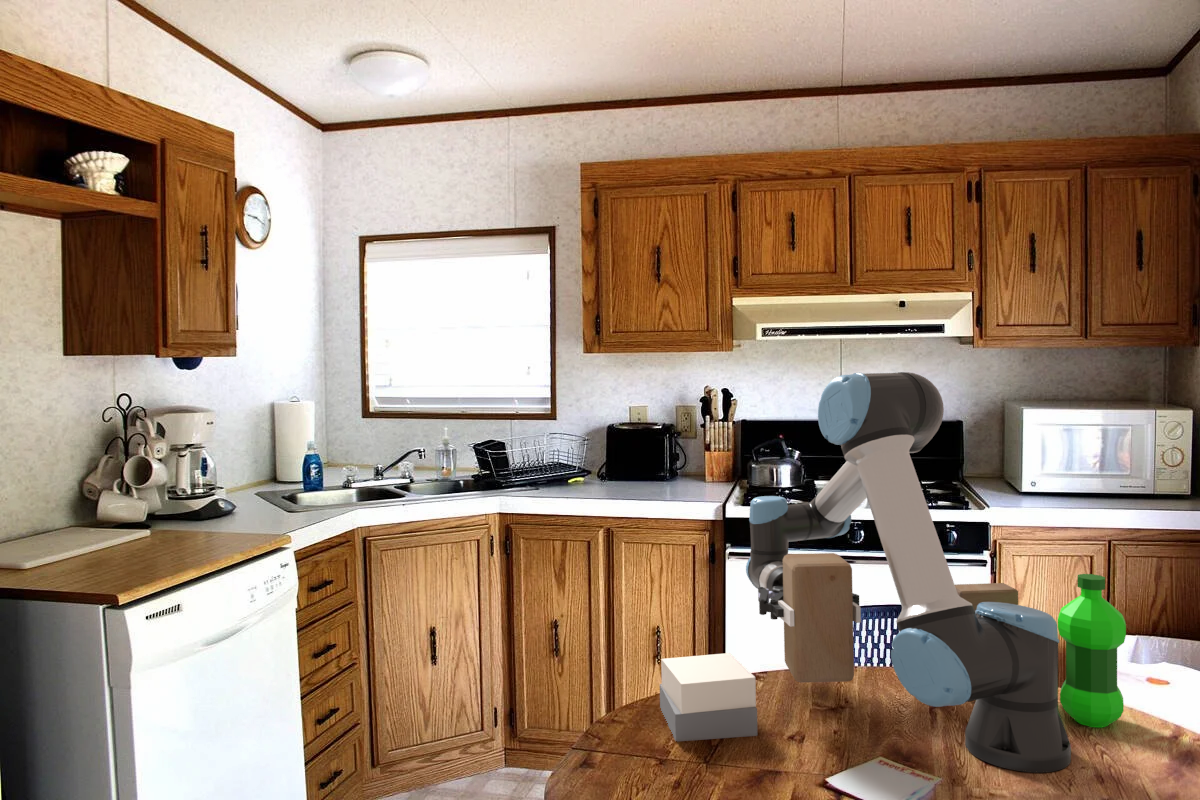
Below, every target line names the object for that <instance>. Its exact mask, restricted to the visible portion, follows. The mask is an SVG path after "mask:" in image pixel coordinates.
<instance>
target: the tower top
mask: <svg viewBox="0 0 1200 800" xmlns="http://www.w3.org/2000/svg"><path fill="white" fill-rule="evenodd" d="M660 660H661V661H660V663H661V667H660V668H661V684H662V687H663V688H664V690H665V691H666V693H667V694H668V695H669V697H670V698H671V700H672V701H673V702H674V704H675V705H676V707H677V708H678V709H679V711H680V712H681V714H686V713H696V712H706V711H716V710H726V709H737V708H747V707H756V708H757V700H756V699H757V695H756V694H757V693H756V689H757V688H756V685H757V684H756V682H757V681H756V676H755V675H754V674H753V673H751V672H750V671H749V669H747V668H746V667H745V666H744V665H743V664H742V663H741V662H740V661H739V660H738V659H737V658H735V656H734V655H732V653H730V652H726V653H714V654H703V655H692V656H691V655H690V656H680V657H667V658H661V659H660Z"/></svg>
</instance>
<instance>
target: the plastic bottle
mask: <svg viewBox="0 0 1200 800" xmlns="http://www.w3.org/2000/svg"><path fill="white" fill-rule="evenodd" d="M1077 588H1080V595H1079V596H1077V597H1075V598H1074V599H1072V600H1070V601H1069V602H1068V603H1067V604H1065V605H1064V606H1062V607H1061V608H1060V611H1059V613H1058V617H1057V631H1058V635H1059V636H1060V637H1061V638H1062V639H1063V640H1064V642H1065V680H1064V682H1063V683H1062V685H1061V688H1060V691H1059V692H1060V693H1059V701H1060V704H1061V706H1062V708H1063V710H1064V711H1065V713H1066V714H1068V715H1069V716H1070V717H1072V718H1073V719H1074V721H1075V722H1077V723H1078V724H1080V725H1083V726H1087V727H1090V728H1098V729H1099V728H1105V727H1108V726H1109V725H1111V724H1112V723H1115V722H1116V721H1118V720H1119V719H1120V718H1121V717H1122V715H1123V713H1124V709H1125V708H1124V706H1125V705H1124V697H1123V694H1122V692H1121V690H1120V688H1119V686H1118V648H1120V647H1121V646H1122V645H1123V644H1124V643H1125V640H1126V635H1127V631H1126V630H1127V624H1126V620H1125V617H1124V615H1123V614H1122V612H1120V611H1119V610H1118V609H1117V608H1116V607H1115V606H1114V605H1112V604H1111V603H1110V602H1108V600H1106V599H1105V597H1102V596H1103V594H1102V592H1103V591H1105V590H1106V577H1105V576H1104V575H1103V576H1102V575H1099V574H1092V573H1081V574H1077Z"/></svg>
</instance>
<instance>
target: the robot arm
mask: <svg viewBox="0 0 1200 800" xmlns="http://www.w3.org/2000/svg"><path fill="white" fill-rule="evenodd" d="M817 407H818V408H817V418H818V420H817V421H818V426H819V430H820V432H821V434H822V436H823V437H824V439H826V440H827V441H828V443H831V444H834V445H835V446H836V445H837V446H838V445H839V446H841V447H840V448H841V451H842V455H843V457H844V460H845V463H844V464H842V466H841V467H840V468H839V469H838V470H837V472H836V473H835V474H834V475H833V476H832V477H831V478H830V480H829V481H828V482H827V483H826V484H825V486H823V488H822V489H820V491H819V492H818V493H817V495H816V496H815V497H814V498H813V499H812V500H811V501H810V502H805V503H795V504H793V503H791V504H788V500H787V499H786V498H785V497H783V496H777V495H764V496H762V495H761V496H757V497H754V498H753V499H752V500H751V501H750V507H749V519H748V521H749V528H750V529H749V531H750V557H749V558H748V560H747V562H746V565H745V572H746V575H747V578H748V580H749V581H750V583H751V585H753V586H754V587H755V588H756V589H757V594H758V605H759V606H758V607H759V615H761V616H765V615H767V613H770V619H771V620H778V618H780V620H782V621H783V623H784V622H786V623H787V624H788V625H789V626H790V627H792V626H794V610H793V609H792V608H791V607H790V606H788V605H787V604H786V603H785V602H784V601H783V558H784V556H785V555H787V554H789V542H790V543H791V542H798V541H799V542H800V541H807V540H808V541H809V540H818V539H832V538H835V537H838V536H839V537H840V536H842V535H845V534H846V533H847V532H848V531H849V530H850V525H851V524H852V514H853V513H854V512H855V511H856V510H857V508H858V507H860V506H861V505H862V503H863V502H864V501H865V500H866V499H867V502H868V505H869V508H870V511H871V514H872V516H873V517H872V518H873V520H874V524H875V527H876V531H877V533H878V537H879V539H880V543H881V546H882V548H883V552H884V555H885V558H886V561H887V563H888V567H889V571H890V573H891V576H892V577H891V578H892V580H893V582H894V586H895V589H896V592H897V595H898V598H899V601H900V605H901V612H900V613H899V615H898V617H897V618H896V621H895V622H896V625H897V628H898V633H897V634H896V635H895V636H894V638H893V639H892V643H891V647H892V649H891V650H890V659H891V664H892V667H893V670H894V672H895V675H896V676H897V678H898V680H899V682H900V684H901V685H902V687H903V688H904V689H905V690H906V691H907V692H908V694H910V695H911V696H913V697H914V698H915V699H916V700H918V701H919V702H920V703H922V704H924V705H926V706H929V707H934V708H935V707H937V708H938V707H947V706H961V705H963V704H966V703H968V702H973V701H975V702H974V705H973V708H972V710H971V713H970V717H969V720H968V722H967V725H966V727H965V732H964V733H965V734H964V736H965V737H964V738H965V742H964V743H965V748H966V749H967V750H968V752H970V753H971V754H972V755H973V756H974V757H976V758H977V759H980V760H981V761H983V762H986V763H988V764H991V765H993V766H996V767H999V768H1002V769H1008V770H1010V771H1011V770H1012V771H1016V772H1017V771H1018V772H1024V773H1025V772H1026V773H1051V772H1057V771H1061V770H1062V769H1065V768H1067V767H1068V766H1069V765H1070V764H1071V762H1072V748H1071V747H1072V746H1071V742H1070V739H1069V736H1068V734H1067V731H1066V728H1065V725H1064V723H1063V719H1062V716H1061V714H1060V711H1059V644H1060V639H1059V630H1058V622H1057V621H1056V620H1055V618H1054V617H1053V616H1052V615H1051V614H1049V612H1045V611H1043V610H1040V609H1036V608H1033V607H1029V606H1026V605H1025V606H1024V605H1019V604H1018V605H1015V604H1009V603H1001V602H982V603H979V604H978V605H977V609H976V611H974V608H973V605H972V603H970V602H968V601H966V600H965V599H963V598H961V597H960V596H959V595H958V593H957V590H956V588H955V585H956V584H955V582H954V579H953V576H952V573H951V571H950V568H949V565H948V561H947V559H946V556H945V553H944V551H943V548H942V545H941V541H940V539H939V536H938V533H937V530H936V527H935V525H934V522H933V518H932V516H931V512H930V510H929V506H928V504H927V501H926V498H925V496H924V492H923V489H922V486H921V483H920V481H919V477H918V475H917V472H916V469H915V466H914V463H913V460H912V458H911V455H910V454H914V453H918V452H920V451H921V450H922V449H923V448H924V447H925V446H926V445H928V443H929V442H930V441H931V440H932V439H933V437H934V436H935V435H936V434H937V432H938V431H939V429H940V426H941V425H942V422H943V417H944V413H945V410H944V409H945V408H944V401H943V397H942V395H941V392H939V390H938V388H937V387H936V385H934V383H933V382H932V381H931V380H929V379H928V378H926V377H924V376H922V375H920V374H917V373H914V372H908V371H905V372H904V371H902V372H901V371H900V372H885V373H884V372H882V373H881V372H880V373H879V372H877V373H864V372H863V373H862V372H854V373H851V374H850V373H849V374H842V375H839V376H835V377H834V378H833V379H831V380H830V381H829V382H828V383H827V385H826V386H825V388H824V389H823V391H822V393H821V396H820V400H819V402H818V406H817ZM852 597H853V622H855V624H857V623H858V624H860V623H861V622H862V617H861V615H862V614H861V611H862V609H861V606H860V595H859V594H857V593H853V592H852Z"/></svg>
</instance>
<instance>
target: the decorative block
mask: <svg viewBox="0 0 1200 800" xmlns="http://www.w3.org/2000/svg"><path fill="white" fill-rule="evenodd" d="M954 585H955V588H956V590H957V593H958V595H959V596H960V597H961V598H963V599H965V600H966V601H968V602H970V603H972V605H973V608H974V611H976V609H977V605H978V604H979V603H982V602H1001V603H1009V604H1015V605H1019V590H1018V589H1017V588H1014V587H1013V586H1010V585H1008V584H1006V583H1005V582H996V583H995V582H994V583H993V582H992V583H989V582H988V583H965V584H964V583H963V584H961V583H960V584H957V583H956V584H954Z"/></svg>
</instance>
